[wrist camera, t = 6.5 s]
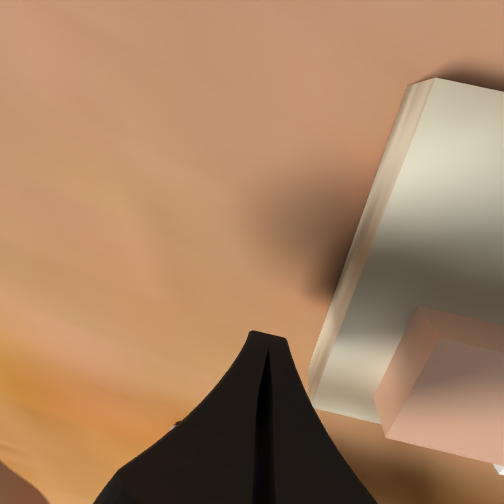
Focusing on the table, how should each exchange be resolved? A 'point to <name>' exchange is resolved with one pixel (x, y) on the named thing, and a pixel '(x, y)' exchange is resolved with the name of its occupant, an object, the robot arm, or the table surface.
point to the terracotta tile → (446, 386)
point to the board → (418, 240)
